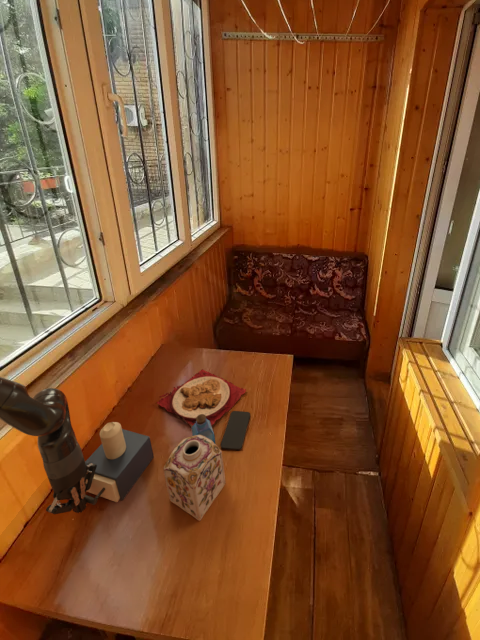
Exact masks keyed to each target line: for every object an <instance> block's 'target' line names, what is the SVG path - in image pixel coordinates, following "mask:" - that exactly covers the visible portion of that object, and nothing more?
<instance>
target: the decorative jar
mask: <svg viewBox="0 0 480 640" xmlns="http://www.w3.org/2000/svg"><path fill="white" fill-rule="evenodd" d="M215 444H216V443H215ZM215 444H214V442H213V441H212V440H210V439H208V438H207V437H205V436H202V435H195V436H192V435H191V436H188V437H185V438H183V439H182V440H181V441H180V442H179V443H178V444H177V445H176V446H175V447H174V448H173V450H172V451H171V453H170V455H169V457H168V458H167V460H166V462H165V464H164V466H163V468H162V469H163V476H164V480H165V485H166V490H167V495H168V498H169V501H170V502H171V503H173V504H174V505H175V506H177V507H178V508H180V509H182V510H183V511H184V512H185V513H187V514H188V515H190V516H192V517H193V518H194V519H196V520H197V521H199V522H200V521H202V519H203V517H204V516H205V515H206V513H207V512H208V510H209V509H210V508H211V506H212V505H213V503H214V502H215V500H216V499H217V497H218V496H219V494H220V493H221V491H222V490H223V488H224V487H225V485H226V474H225V472H226V471H225V465H224V458H223V452H222V449H221V448H220V447H219V446H218V445H217V444H216V445H215Z"/></svg>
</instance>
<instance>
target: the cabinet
mask: <svg viewBox="0 0 480 640" xmlns="http://www.w3.org/2000/svg"><path fill="white" fill-rule="evenodd" d="M122 432H123V436H124V440H125V443H126V450H125V452H124V453H123V454H122V455H121V456H120V457H118V458H116V459H108V458H107V457H106V455H105V452H104V448H103V445H102V443H101V444H100V445H99V446H98V447H97V448H96V449H95V450H94V452H92V454H91V455H90V456H89V457H88V458H87V459H86V460H85V463H86V465H87V463H93V464H96V465H97V467H96V471H95V473H96V474H99V475H102V476H105V477H108V478H111V479H114V480H115V482H116V485H117V489H118V492H119V496H120V499H119V500H118V501H122V502H123V501H124V499H126V497H127V495H128V494H129V493H130V491H131V490H132V488H133V487H134V486H135V484H136V483H137V481H138V480H139V479H140V477H141V476H142V474H143V473H144V471H145V470H146V469H147V467H148V466H149V465H150V463H151V462H152V461H153V460H154V458H155V456H154V455H155V454H154V451H153V447H152V442H151V437H150V436H149V435H146V434H142V433H138V432H134V431H131V430H128V429H125V428H122Z"/></svg>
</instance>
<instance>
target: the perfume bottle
mask: <svg viewBox="0 0 480 640" xmlns="http://www.w3.org/2000/svg"><path fill="white" fill-rule="evenodd" d="M195 435H202V436H205V437H207V438H208V439H210V440H212V441H213V442H214V444H215V445H217V444H216V437H215V433H214V429H213V425H211V423H210V421H209V420H208V419H206V416H205V415H204V414H200V415H198V416H197V417H196V423H195V424H194V425H193V426H191V436H195Z"/></svg>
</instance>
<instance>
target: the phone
mask: <svg viewBox="0 0 480 640" xmlns="http://www.w3.org/2000/svg"><path fill="white" fill-rule="evenodd" d="M250 419H251V413H250V412H249V411H242V410H241V411H240V410H233V411H231V412H230V414H229V418H228V421H227V424H226V427H225V430H224V433H223V436H222V439H221V442H220V449H221V450H227V451H228V450H229V451H241V450H242V449H243V446H244V441H245V438H246V434H247V430H248V426H249V423H250Z"/></svg>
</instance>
